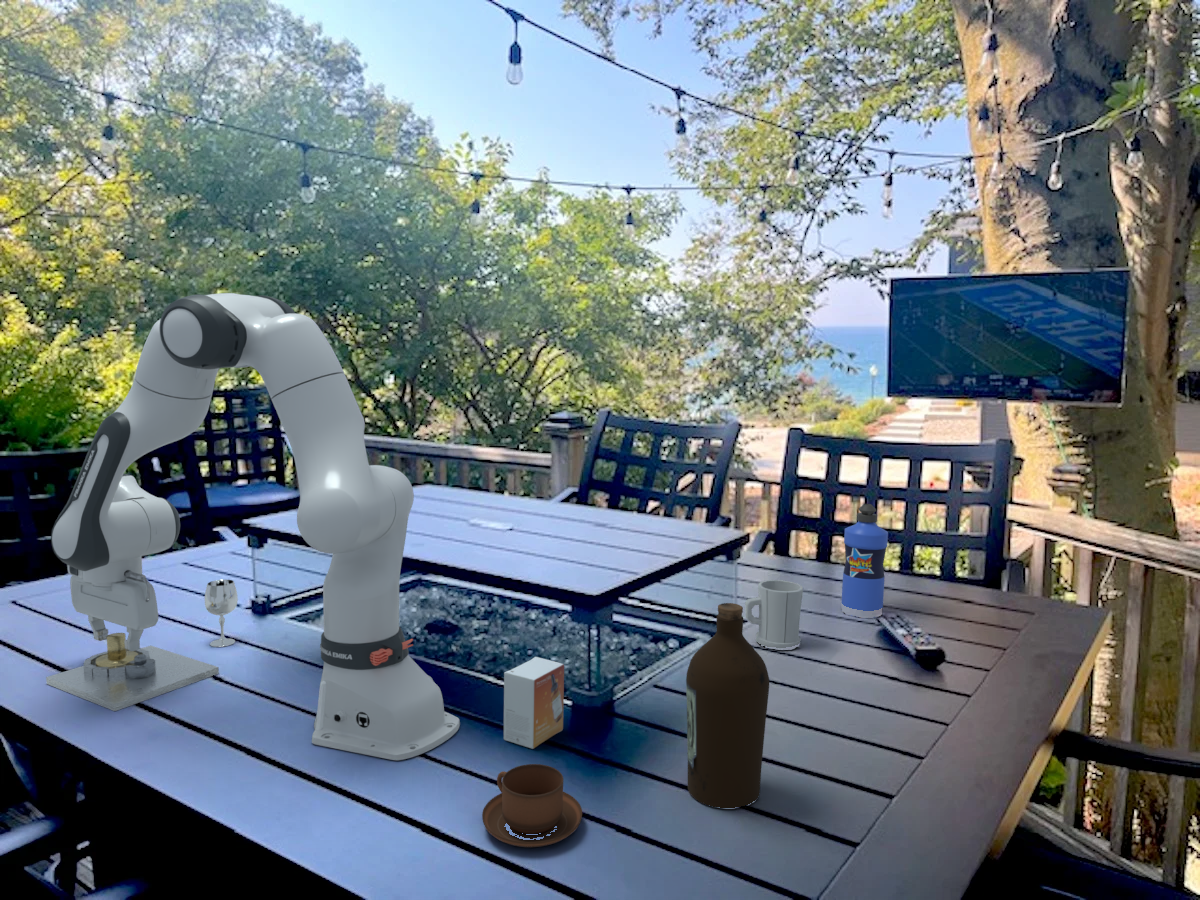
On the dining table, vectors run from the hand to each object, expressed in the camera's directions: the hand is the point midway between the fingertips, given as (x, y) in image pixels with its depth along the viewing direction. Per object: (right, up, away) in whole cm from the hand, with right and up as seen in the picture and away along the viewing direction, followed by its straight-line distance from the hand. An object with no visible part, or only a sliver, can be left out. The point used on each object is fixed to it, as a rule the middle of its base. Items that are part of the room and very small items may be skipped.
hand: (116, 644), depth 140 cm
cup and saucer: (+76, -12, -43) cm, 88 cm away
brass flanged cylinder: (0, -4, 0) cm, 4 cm away
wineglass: (+11, -4, +16) cm, 20 cm away
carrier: (+4, -5, -2) cm, 7 cm away
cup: (+120, -5, +21) cm, 122 cm away
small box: (+75, -9, -20) cm, 78 cm away
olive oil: (+101, -11, -34) cm, 107 cm away
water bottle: (+144, -3, +44) cm, 151 cm away
